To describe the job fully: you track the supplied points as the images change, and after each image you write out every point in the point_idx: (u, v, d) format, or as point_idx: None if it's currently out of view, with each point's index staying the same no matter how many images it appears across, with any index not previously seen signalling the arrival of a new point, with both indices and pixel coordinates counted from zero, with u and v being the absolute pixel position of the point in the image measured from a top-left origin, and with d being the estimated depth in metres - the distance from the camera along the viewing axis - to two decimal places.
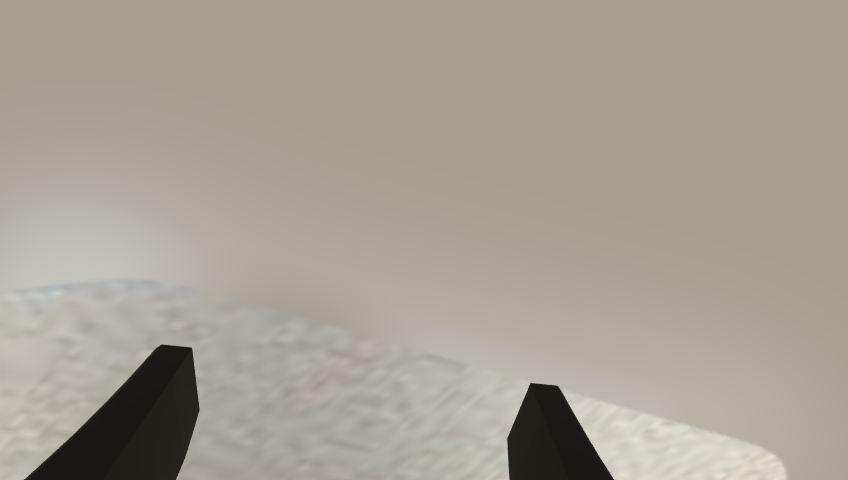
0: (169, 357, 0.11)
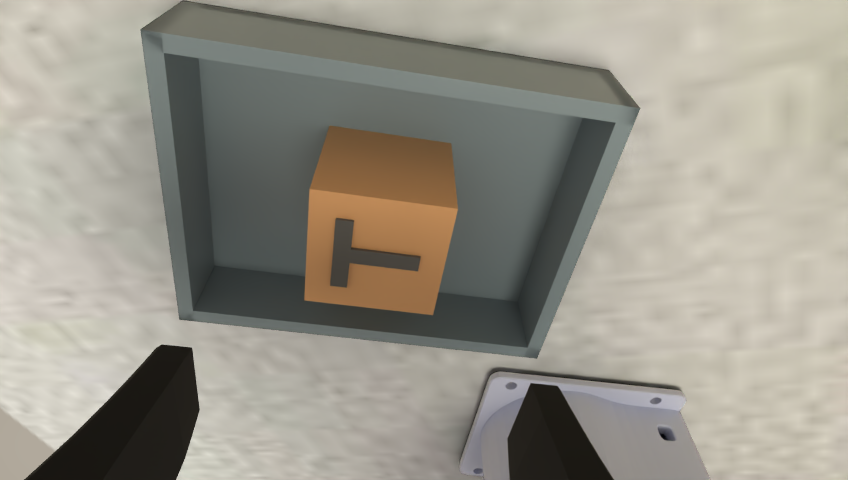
0: (169, 356, 0.11)
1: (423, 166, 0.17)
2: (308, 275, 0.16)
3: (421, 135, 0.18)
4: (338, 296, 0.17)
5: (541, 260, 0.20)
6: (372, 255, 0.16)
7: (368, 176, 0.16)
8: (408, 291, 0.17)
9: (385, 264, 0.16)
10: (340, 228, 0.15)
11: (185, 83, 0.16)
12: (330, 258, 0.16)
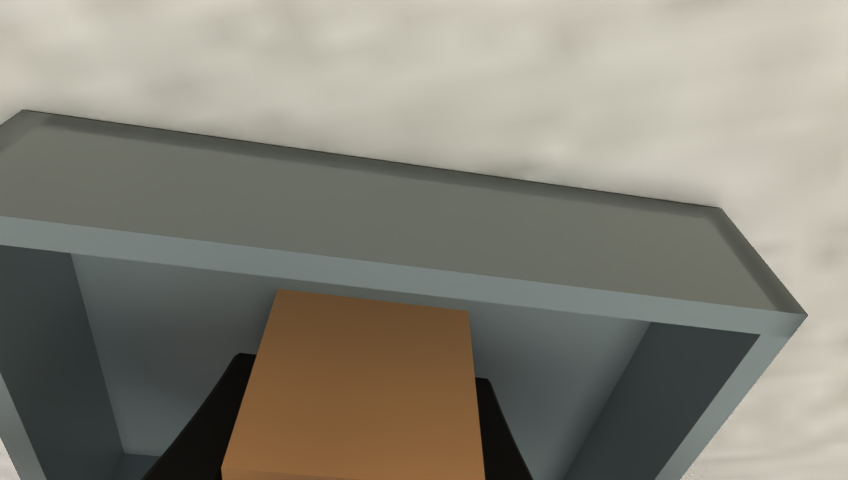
0: (250, 364, 0.11)
1: (425, 376, 0.10)
2: None
3: (421, 300, 0.12)
4: None
5: (598, 460, 0.14)
6: None
7: (331, 415, 0.09)
8: None
9: None
10: None
11: (21, 254, 0.09)
12: None
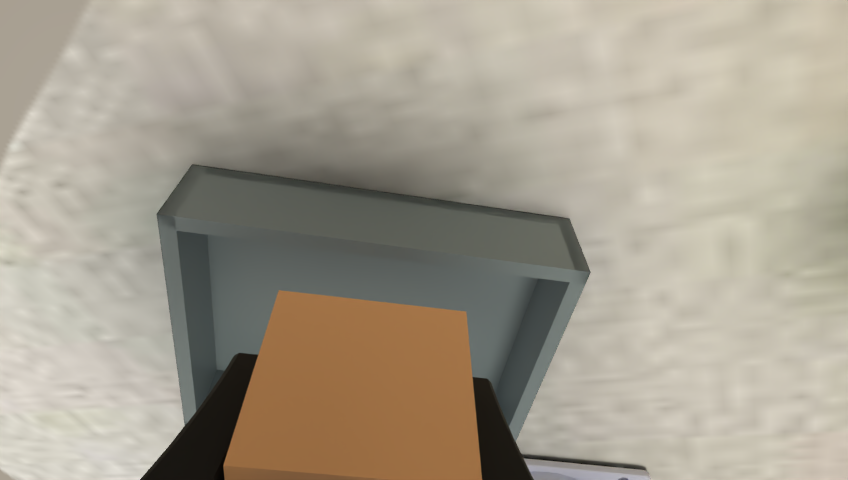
0: (250, 364, 0.11)
1: (424, 375, 0.10)
2: None
3: (403, 270, 0.20)
4: None
5: (512, 371, 0.22)
6: None
7: (331, 414, 0.09)
8: None
9: None
10: None
11: (193, 240, 0.18)
12: None
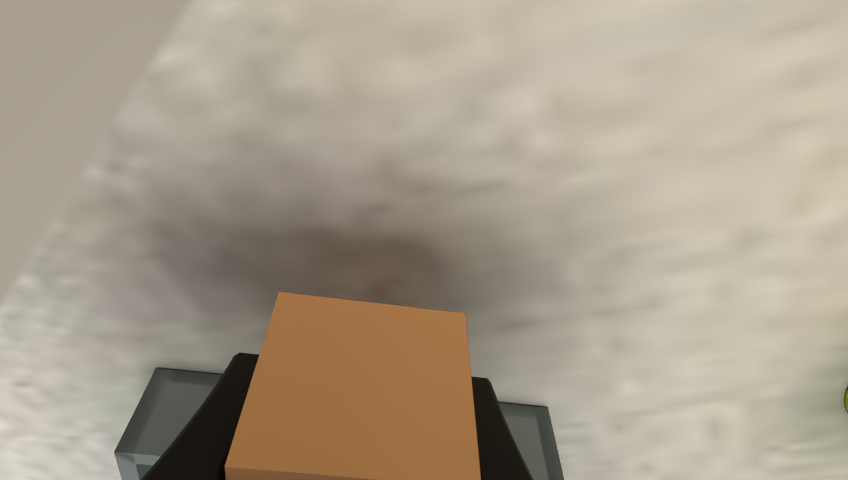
0: (250, 365, 0.11)
1: (422, 376, 0.10)
2: None
3: None
4: None
5: None
6: None
7: (331, 415, 0.09)
8: None
9: None
10: None
11: None
12: None
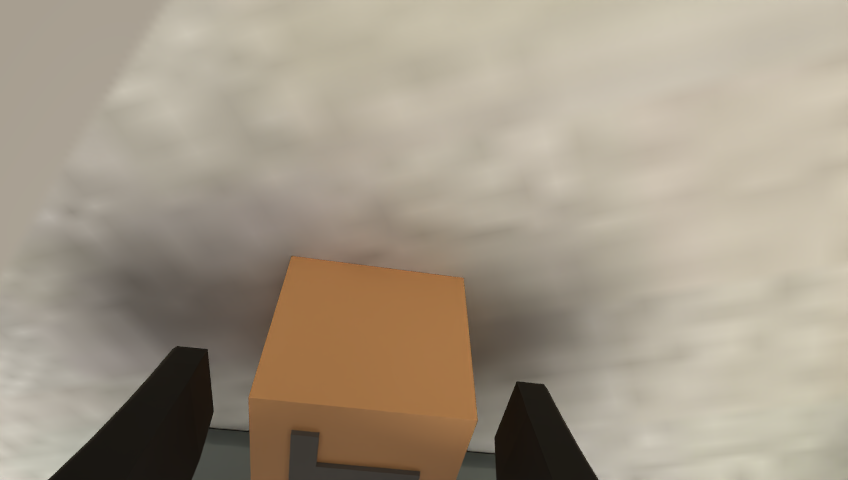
0: (186, 358, 0.11)
1: (424, 328, 0.11)
2: None
3: None
4: None
5: None
6: (349, 470, 0.11)
7: (342, 358, 0.10)
8: None
9: (368, 479, 0.11)
10: (299, 444, 0.10)
11: None
12: (287, 473, 0.11)
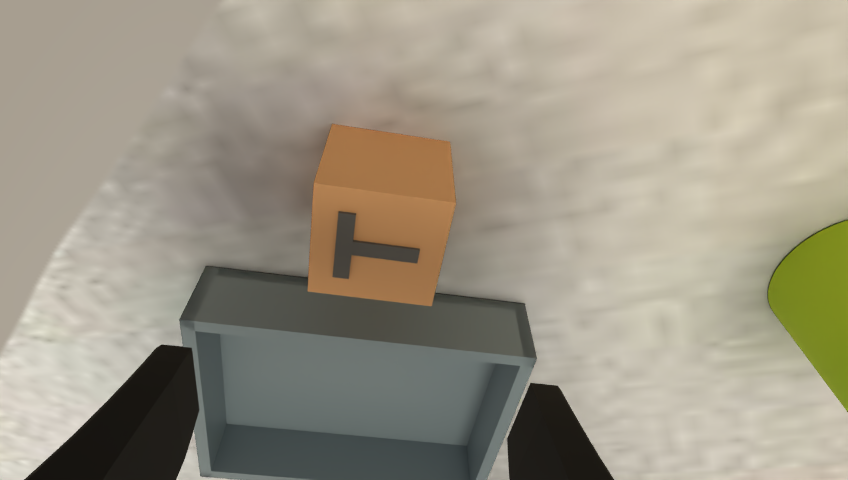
0: (169, 357, 0.11)
1: (423, 162, 0.17)
2: (311, 267, 0.17)
3: None
4: (340, 287, 0.17)
5: (480, 426, 0.26)
6: (373, 247, 0.17)
7: (369, 171, 0.16)
8: (408, 283, 0.17)
9: (386, 256, 0.17)
10: (343, 221, 0.16)
11: None
12: (333, 250, 0.17)
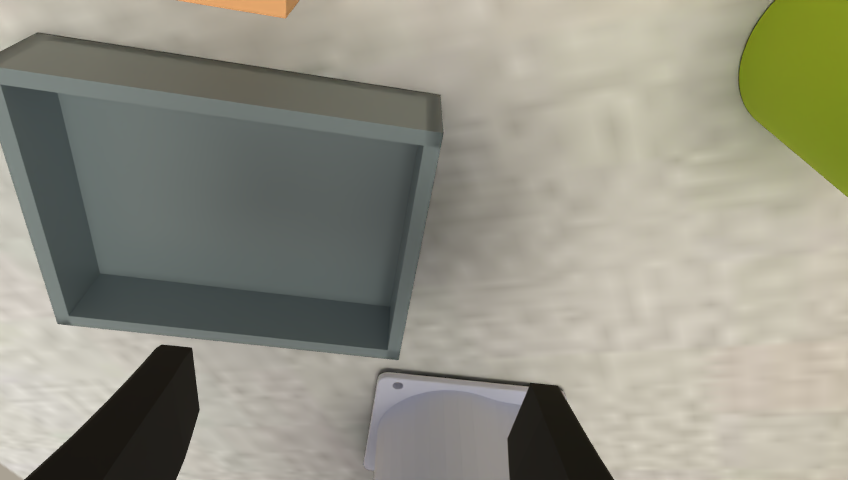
0: (169, 357, 0.11)
1: None
2: None
3: (273, 154, 0.20)
4: None
5: (398, 268, 0.22)
6: None
7: None
8: None
9: None
10: None
11: (37, 109, 0.17)
12: None
